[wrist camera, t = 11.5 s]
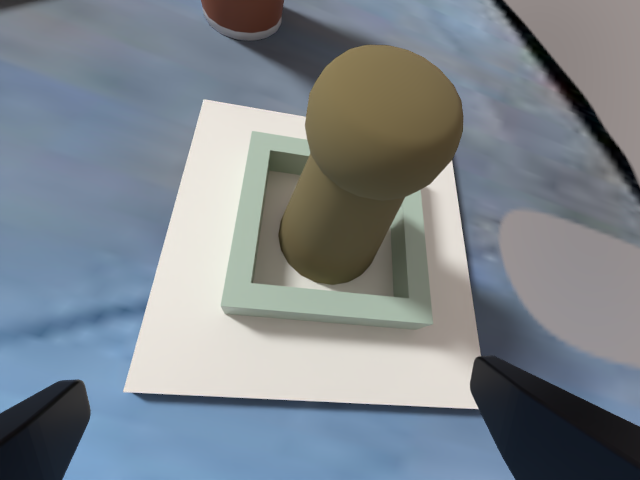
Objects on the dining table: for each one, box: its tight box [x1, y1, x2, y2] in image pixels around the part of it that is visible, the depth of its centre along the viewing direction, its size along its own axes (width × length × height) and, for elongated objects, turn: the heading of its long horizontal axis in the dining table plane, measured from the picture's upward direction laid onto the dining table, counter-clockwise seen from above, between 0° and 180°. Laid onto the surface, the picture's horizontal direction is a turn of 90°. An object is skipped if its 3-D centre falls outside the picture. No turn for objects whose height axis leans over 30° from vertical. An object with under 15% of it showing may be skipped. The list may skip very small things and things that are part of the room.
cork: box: [278, 45, 463, 285], centre depth 14 cm, size 6×6×11 cm
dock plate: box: [123, 100, 481, 409], centre depth 19 cm, size 18×18×3 cm
